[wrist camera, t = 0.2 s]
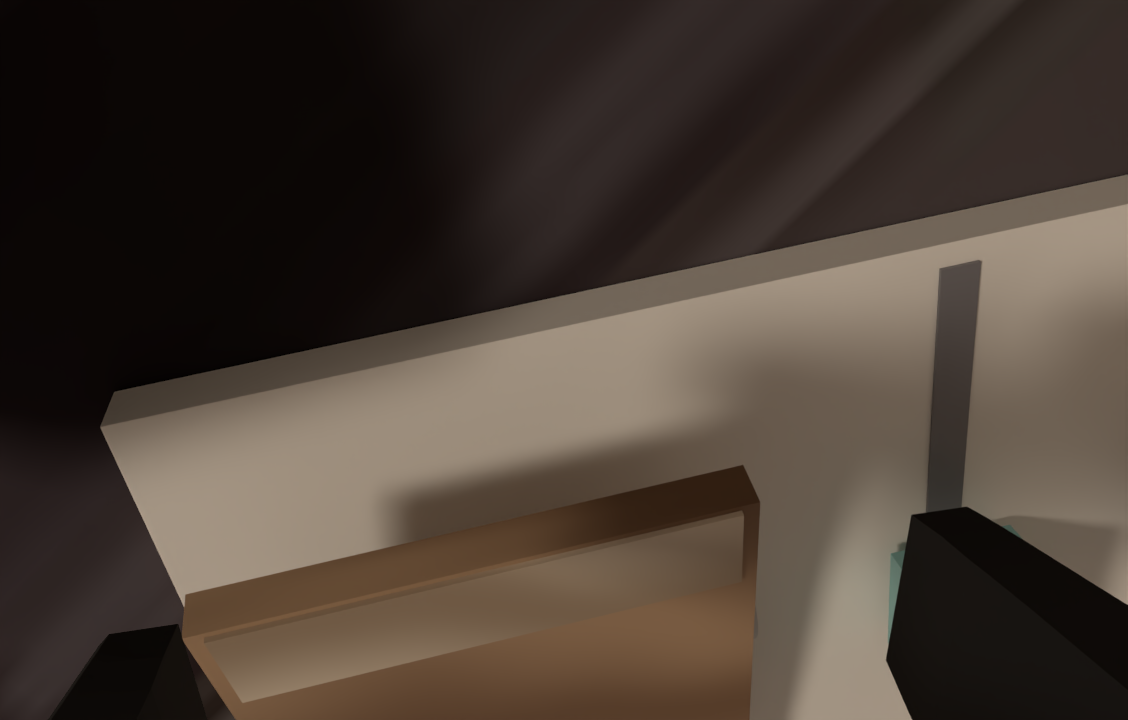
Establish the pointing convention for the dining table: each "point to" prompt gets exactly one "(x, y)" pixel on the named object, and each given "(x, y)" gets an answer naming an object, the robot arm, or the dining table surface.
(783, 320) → the panel
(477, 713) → the panel
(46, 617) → the dining table surface
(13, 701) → the dining table surface
